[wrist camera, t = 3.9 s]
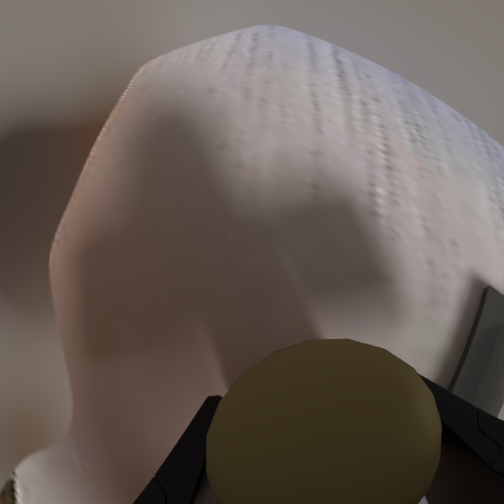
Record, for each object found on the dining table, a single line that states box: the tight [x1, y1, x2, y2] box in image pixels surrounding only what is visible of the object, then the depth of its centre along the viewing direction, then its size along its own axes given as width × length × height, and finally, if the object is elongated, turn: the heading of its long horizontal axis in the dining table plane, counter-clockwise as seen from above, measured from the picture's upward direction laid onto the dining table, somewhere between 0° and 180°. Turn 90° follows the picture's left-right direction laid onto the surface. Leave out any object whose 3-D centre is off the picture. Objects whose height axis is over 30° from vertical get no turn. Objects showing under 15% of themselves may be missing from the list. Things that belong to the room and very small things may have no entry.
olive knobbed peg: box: [206, 339, 442, 504], centre depth 9 cm, size 6×6×11 cm
